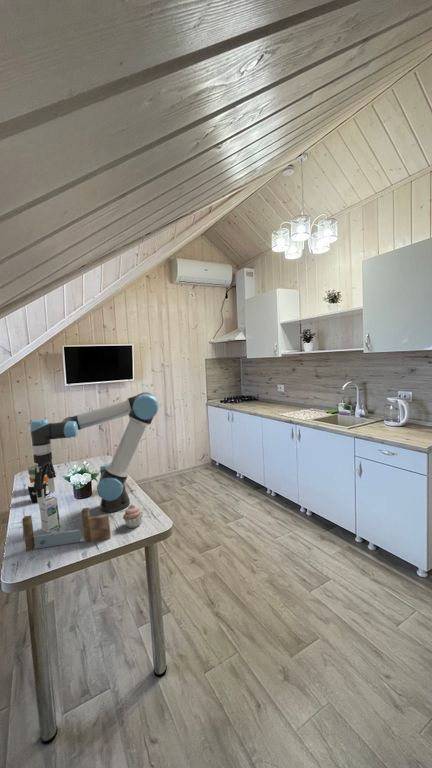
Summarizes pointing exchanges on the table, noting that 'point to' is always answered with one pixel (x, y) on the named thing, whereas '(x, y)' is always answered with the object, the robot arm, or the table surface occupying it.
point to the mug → (34, 494)
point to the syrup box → (49, 514)
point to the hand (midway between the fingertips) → (46, 497)
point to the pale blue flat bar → (57, 538)
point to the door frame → (92, 528)
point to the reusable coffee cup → (32, 475)
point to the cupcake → (133, 516)
